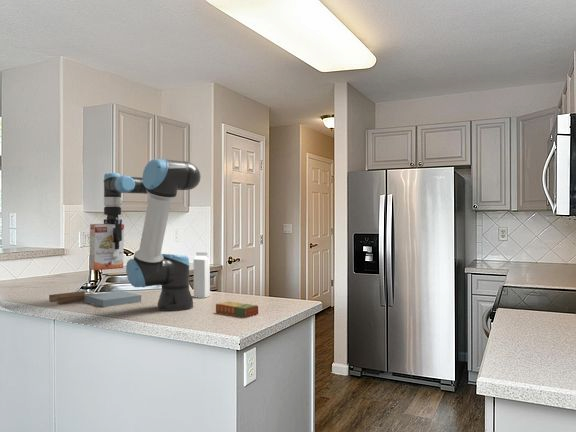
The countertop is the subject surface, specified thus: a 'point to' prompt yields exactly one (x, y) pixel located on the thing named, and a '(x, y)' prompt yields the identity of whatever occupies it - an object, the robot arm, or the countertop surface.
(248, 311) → the carton
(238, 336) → the countertop surface
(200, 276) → the milk
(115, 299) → the slate board
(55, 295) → the slot rack
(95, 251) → the cracker box
